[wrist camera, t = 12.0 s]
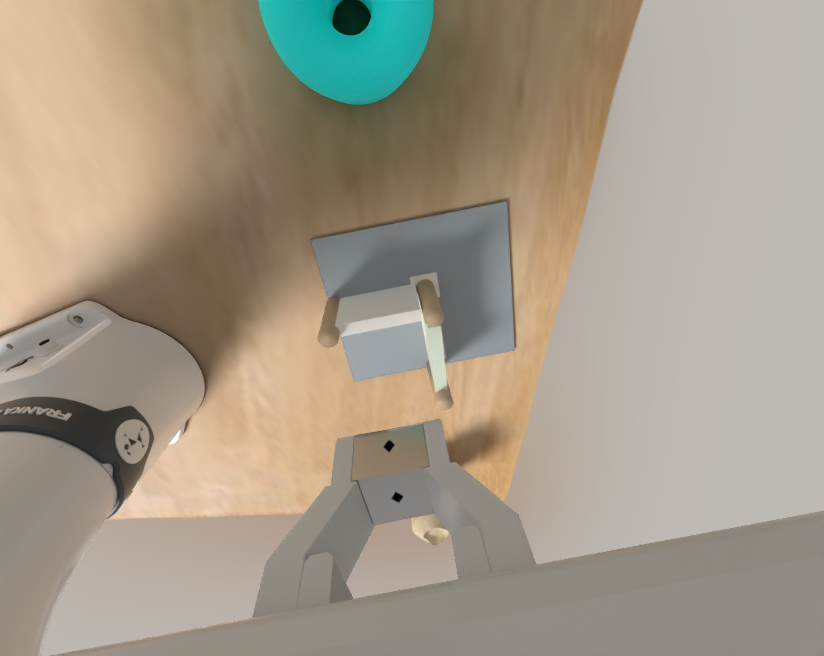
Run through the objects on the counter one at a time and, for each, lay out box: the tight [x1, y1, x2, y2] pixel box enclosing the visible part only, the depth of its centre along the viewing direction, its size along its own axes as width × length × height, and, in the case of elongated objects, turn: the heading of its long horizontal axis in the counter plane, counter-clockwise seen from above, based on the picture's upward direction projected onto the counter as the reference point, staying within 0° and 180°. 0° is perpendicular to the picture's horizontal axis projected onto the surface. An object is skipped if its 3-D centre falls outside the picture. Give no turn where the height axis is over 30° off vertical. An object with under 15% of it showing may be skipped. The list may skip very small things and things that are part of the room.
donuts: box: [258, 0, 434, 105], centre depth 25 cm, size 10×10×10 cm
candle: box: [411, 514, 451, 545], centre depth 49 cm, size 6×6×10 cm
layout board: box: [310, 201, 515, 381], centre depth 41 cm, size 19×17×1 cm
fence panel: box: [423, 318, 453, 410], centre depth 40 cm, size 9×2×7 cm, turn 7°
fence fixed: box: [318, 279, 444, 347], centre depth 37 cm, size 11×2×7 cm, turn 100°
